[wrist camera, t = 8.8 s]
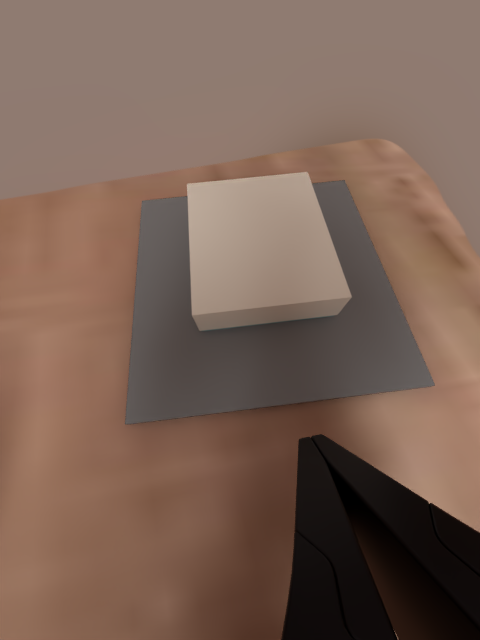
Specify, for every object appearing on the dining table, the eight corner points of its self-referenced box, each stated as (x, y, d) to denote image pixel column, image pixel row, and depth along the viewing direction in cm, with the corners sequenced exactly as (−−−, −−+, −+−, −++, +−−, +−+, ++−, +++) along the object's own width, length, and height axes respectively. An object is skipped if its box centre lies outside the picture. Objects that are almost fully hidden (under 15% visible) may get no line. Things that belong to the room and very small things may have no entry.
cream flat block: (351, 297, 15) (307, 171, 20) (191, 315, 15) (187, 183, 20) (335, 317, 18) (300, 202, 23) (200, 332, 17) (194, 213, 22)
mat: (429, 386, 16) (435, 385, 16) (128, 424, 15) (125, 424, 15) (342, 184, 24) (344, 180, 24) (143, 205, 24) (141, 200, 23)
